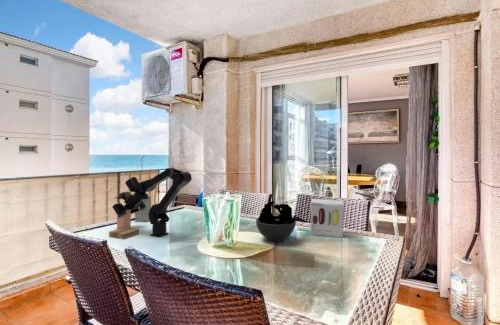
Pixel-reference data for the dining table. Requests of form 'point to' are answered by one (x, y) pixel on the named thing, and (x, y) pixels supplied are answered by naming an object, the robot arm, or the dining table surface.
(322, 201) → the supplement box
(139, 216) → the skincare box
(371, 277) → the dining table surface
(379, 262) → the dining table surface
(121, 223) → the terracotta block
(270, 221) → the black rounded bowl
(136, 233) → the walnut slab
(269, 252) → the dining table surface
